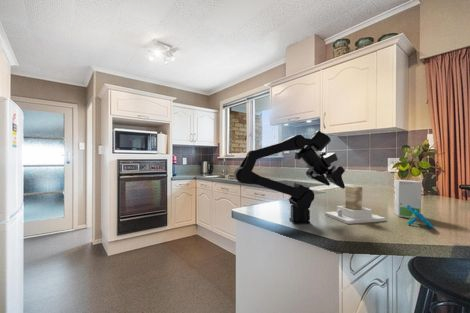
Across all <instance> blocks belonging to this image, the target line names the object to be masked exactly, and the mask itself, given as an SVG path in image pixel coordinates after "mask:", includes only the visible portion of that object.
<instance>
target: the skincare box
mask: <svg viewBox="0 0 470 313" xmlns="http://www.w3.org/2000/svg"><path fill="white" fill-rule="evenodd" d="M408 205H409V206H410V207H412V208H414V209H415V210H416V211H418V212H419V213H421V214H422V181H418V180H408V179H407V180H406V179H405V180H404V179H394V212H393V213H394V214H395V215H396V216H397V217H398V218H407V219H408V218H409V219H411V218H412V217H411V216H412V214H413V213H412V212H411V211H410V210H409V209H408V208H407V206H408Z"/></svg>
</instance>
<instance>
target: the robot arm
mask: <svg viewBox="0 0 470 313" xmlns="http://www.w3.org/2000/svg"><path fill="white" fill-rule="evenodd" d="M331 141H332V139H331V137H330V136H329V135H327V133H324V132H322V131H321V130H316V131H314V134H313V135H311V137H310V138H307V137H304V136H303V135H302V134H297V135H292V136H289V137H287V138H286V139H284V140H282V141H280V142H278V143H274V144H270V145H267V146H265V147H260V148H257V149H254V150H248V152H247V153H246V156H245V158H244V159H243V160H242V162H241V164H240V166H239V167H238V168H236V169H235V170H234V172H233V177H234V179H235V181H237V182H238V183H240V184H246V185H255V186H260V187H263V188H267V189H270V190H272V191H276V192H278V193H281V194H285V195H288V196H289V198H288V202H289V205H290V217H289V218H288V219H289V220H290V221H291V222H292V223H293V224H295V225H296V224H298V225H301V224H311V221H310V219H311V210H310V208H311V205H312V202H313V201H314V200H315V192H314V190H312V189H311V188H310V186H306V185H303V184H301V183H298V182H294V183H293V185H290V184H286V183H282V182H280V181H277V180H274V179H271V178H267V177H265V176H261V175H259V174H257V173H256V172H254V171H253V170H254V167H255V165H256V162H257V160H259V159H262V158H266V157H271V156H273V155H277V154H280V153H282V152H287V151H297V150H298V152H295V153H294V160H302V161H303V162H304V163H305V164H306V168H308V169H307V170H306V172H305V175H306V176H307V177H308V178H310V179H312V180H314V181H316V182H319V183H321V184H323V185H325V186H328V187H329V186H331V184H333V185H335V186H337V187H339V188H341V189H345V183H344V180H343V177H342V175H343V174H344V173H345V172H346V169H345V168H344V167H343V166H342V165H341V166H340V165H332V163H334V162H337V161H338V156H337V154H336V152H327V153H326V152H324V151H323V150H325V148H326V147H327V146H328V144H330V143H331ZM322 151H323V152H322ZM317 152H321V153H319V155H318V153H317ZM330 167H331V168H330Z"/></svg>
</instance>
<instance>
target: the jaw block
mask: <svg viewBox="0 0 470 313" xmlns="http://www.w3.org/2000/svg"><path fill="white" fill-rule="evenodd" d="M344 189H345V191H344V192H345V197H344V198H345V202H344V203H345V205H344V206H345V208H347V209H350V210H362V207H363V187H362V186H358V185H346V186H345V188H344Z"/></svg>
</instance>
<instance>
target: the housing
mask: <svg viewBox="0 0 470 313" xmlns="http://www.w3.org/2000/svg"><path fill="white" fill-rule="evenodd" d="M324 215H325V216H326V217H329V218H332V219H334V220H337V221H338V222H341V223H344V224H346V225H350V224H351V225H352V224H363V223H364V224H365V223H375V222H376V223H377V222H386V221H387V220H386V218H387V217H383V216H381V215H377V214H373V209H370V208H369V207H363V206H362V210H350V209H347V208H345V205H336V211H324Z"/></svg>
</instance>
